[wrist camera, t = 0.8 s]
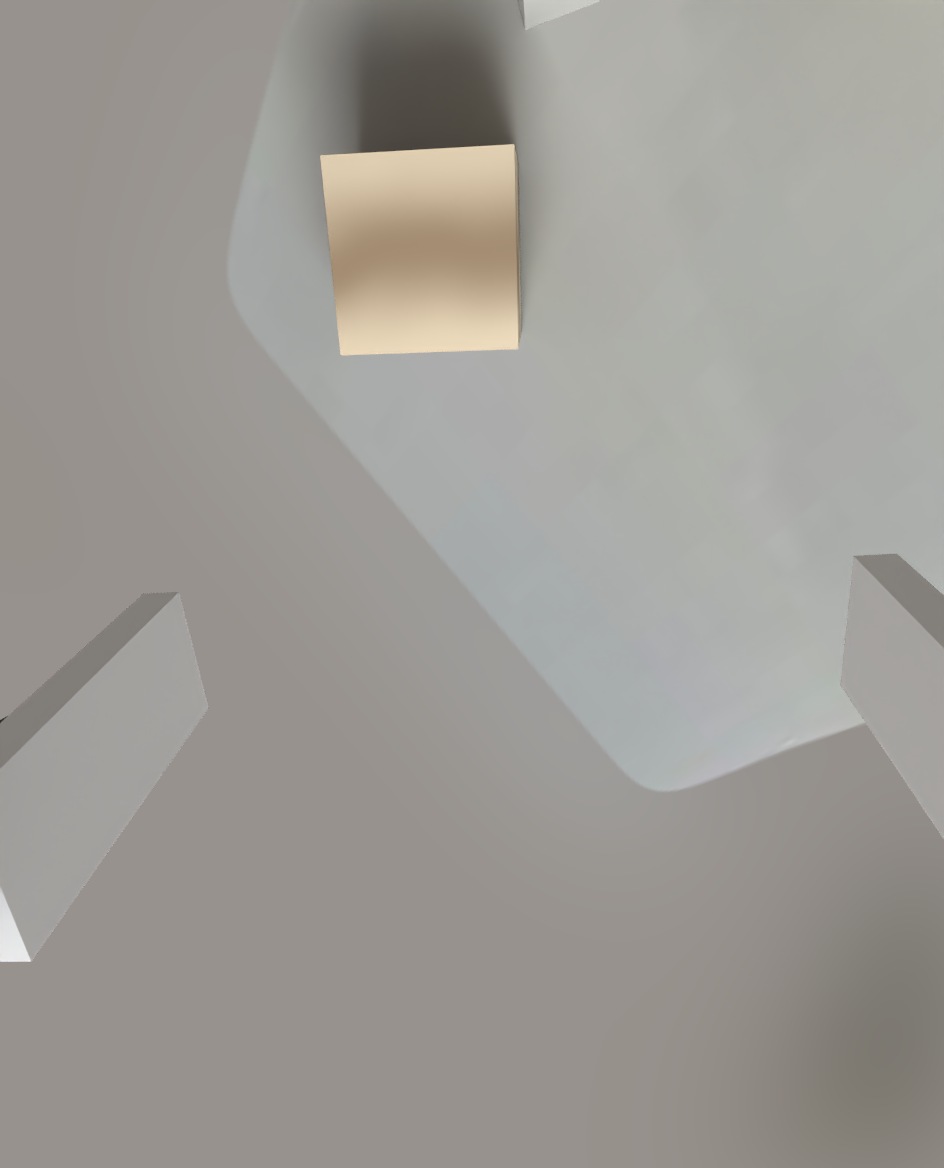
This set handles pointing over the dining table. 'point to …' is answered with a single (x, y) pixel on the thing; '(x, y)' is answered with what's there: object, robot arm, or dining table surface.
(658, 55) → the dining table surface
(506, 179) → the beech block
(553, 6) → the grey block
